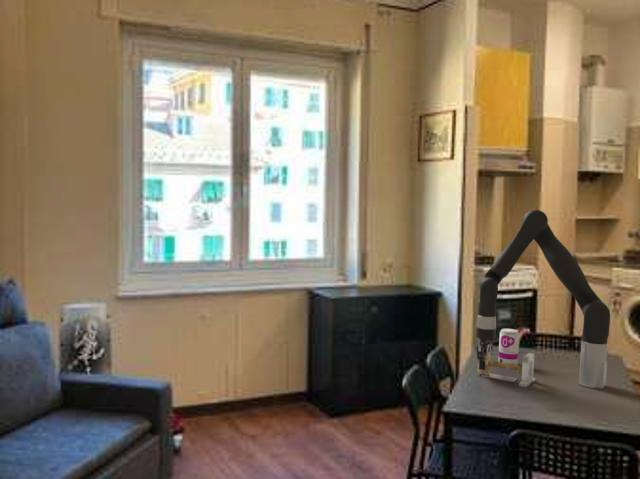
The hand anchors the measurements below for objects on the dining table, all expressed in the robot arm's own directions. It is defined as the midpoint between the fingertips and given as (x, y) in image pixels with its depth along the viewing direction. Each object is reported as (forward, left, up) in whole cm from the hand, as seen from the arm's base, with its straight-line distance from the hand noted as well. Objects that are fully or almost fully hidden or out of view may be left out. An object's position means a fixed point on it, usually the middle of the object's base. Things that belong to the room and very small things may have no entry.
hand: (483, 368), depth 260 cm
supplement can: (-2, -24, -3) cm, 24 cm away
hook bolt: (-7, 0, -2) cm, 7 cm away
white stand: (-9, 0, -3) cm, 10 cm away
